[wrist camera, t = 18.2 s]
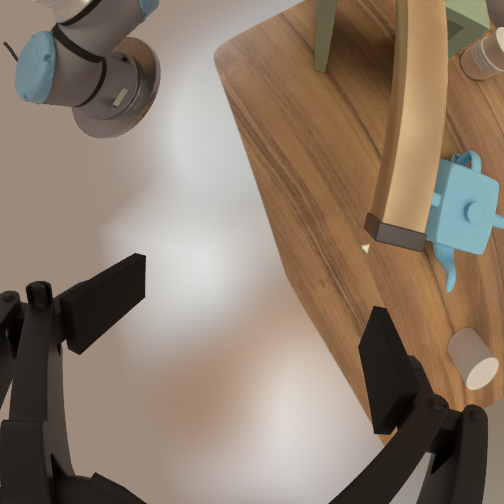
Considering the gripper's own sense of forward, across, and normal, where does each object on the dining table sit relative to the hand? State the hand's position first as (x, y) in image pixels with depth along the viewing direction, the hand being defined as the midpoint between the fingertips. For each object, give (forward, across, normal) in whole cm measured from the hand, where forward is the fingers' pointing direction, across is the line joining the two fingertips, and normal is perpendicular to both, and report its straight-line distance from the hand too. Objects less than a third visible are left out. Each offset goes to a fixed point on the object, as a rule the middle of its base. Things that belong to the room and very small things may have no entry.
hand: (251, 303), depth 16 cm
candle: (+37, +31, +37) cm, 61 cm away
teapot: (+37, +27, +6) cm, 46 cm away
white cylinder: (+37, +45, -20) cm, 62 cm away
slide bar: (+7, +8, +16) cm, 19 cm away
